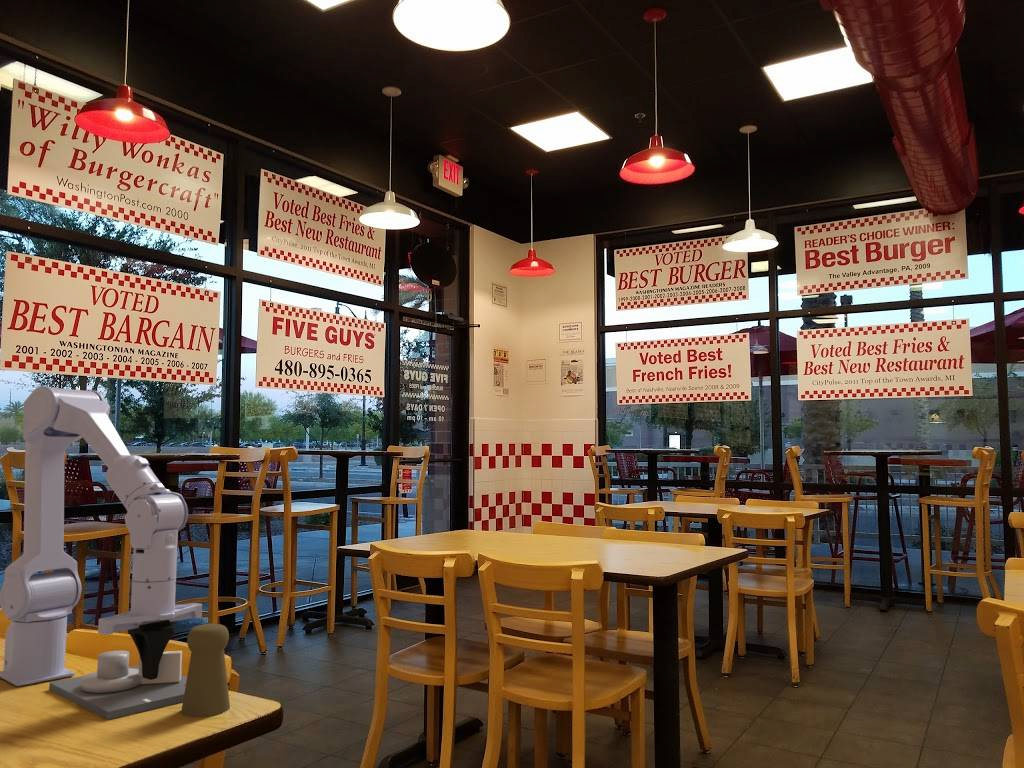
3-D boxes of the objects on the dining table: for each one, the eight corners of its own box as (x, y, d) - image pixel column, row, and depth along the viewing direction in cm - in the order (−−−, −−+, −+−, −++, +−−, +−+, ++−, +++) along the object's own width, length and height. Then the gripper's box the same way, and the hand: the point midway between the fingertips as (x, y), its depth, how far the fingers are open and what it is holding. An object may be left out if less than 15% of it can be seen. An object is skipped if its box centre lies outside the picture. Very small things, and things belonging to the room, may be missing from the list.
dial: (72, 694, 108) (74, 662, 108) (89, 678, 116) (91, 648, 116) (175, 688, 111) (176, 657, 111) (184, 673, 119) (185, 644, 119)
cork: (213, 718, 102) (216, 630, 103) (171, 715, 103) (174, 628, 104) (238, 704, 108) (241, 621, 109) (198, 701, 109) (201, 619, 110)
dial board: (49, 689, 114) (49, 681, 114) (149, 669, 125) (150, 662, 125) (107, 719, 101) (108, 710, 101) (214, 694, 112) (214, 686, 112)
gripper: (120, 588, 105) (115, 695, 104) (216, 575, 117) (212, 670, 115) (91, 584, 109) (86, 686, 107) (187, 571, 121) (183, 663, 119)
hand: (150, 678), depth 112 cm, fingers closed
